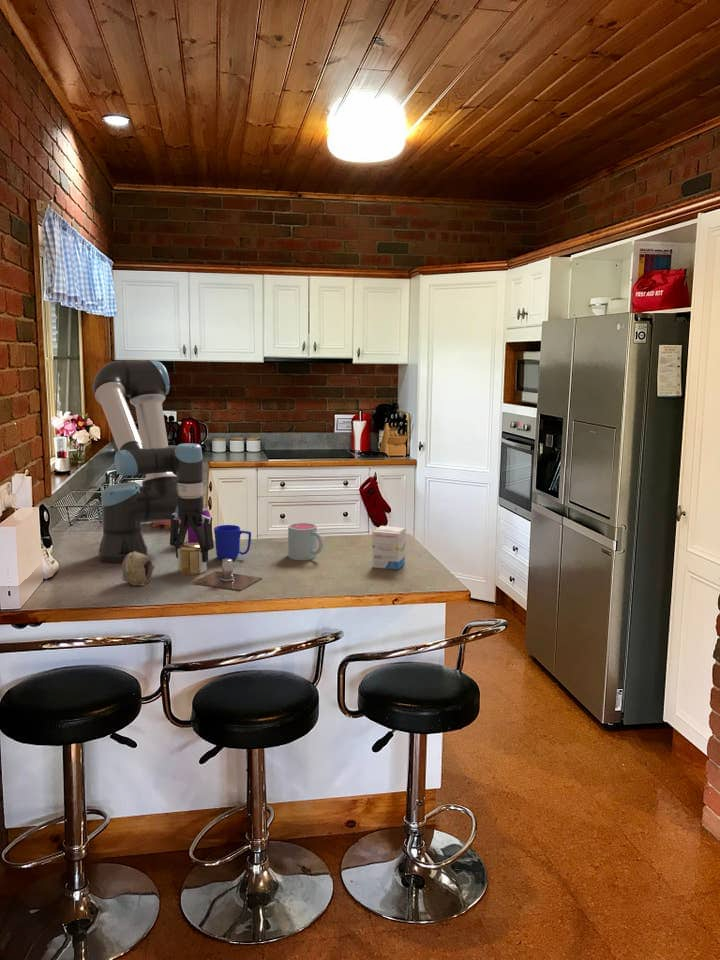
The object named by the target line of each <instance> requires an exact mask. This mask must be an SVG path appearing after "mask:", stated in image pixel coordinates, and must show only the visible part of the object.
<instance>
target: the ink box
mask: <svg viewBox="0 0 720 960" xmlns="http://www.w3.org/2000/svg"><path fill="white" fill-rule="evenodd" d="M371 534H372V539H371V540H372V548H371V549H372V561H371V562H372V563H371V564H372V565H371V566H372V568H373V569H374V568H376V569H377V568H378V569H388V570H395V571H397V570H399V569H401V567H403V566H404V565H405V563H406V562H405V561H406V528H405V527H397V526H388V525H380V526H379V527H377V528H376V529H374V530H373V531H372V533H371Z"/></svg>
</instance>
